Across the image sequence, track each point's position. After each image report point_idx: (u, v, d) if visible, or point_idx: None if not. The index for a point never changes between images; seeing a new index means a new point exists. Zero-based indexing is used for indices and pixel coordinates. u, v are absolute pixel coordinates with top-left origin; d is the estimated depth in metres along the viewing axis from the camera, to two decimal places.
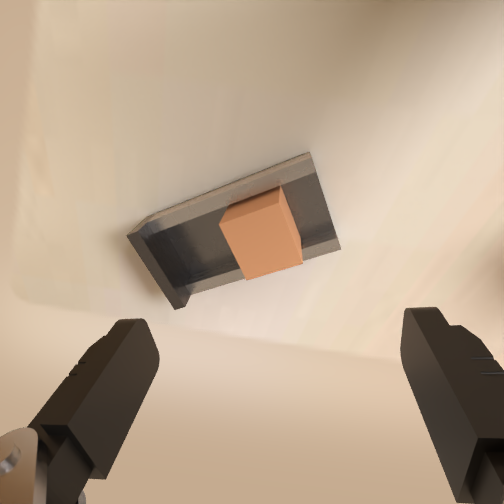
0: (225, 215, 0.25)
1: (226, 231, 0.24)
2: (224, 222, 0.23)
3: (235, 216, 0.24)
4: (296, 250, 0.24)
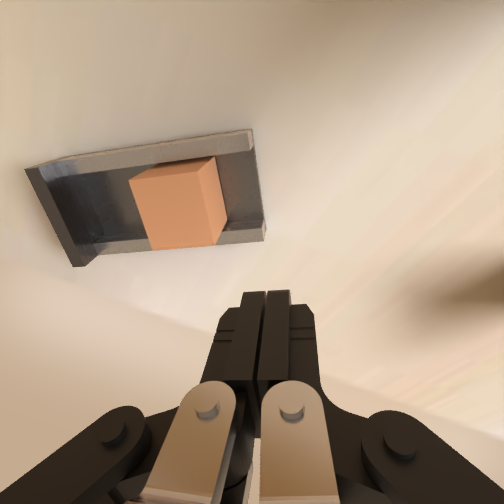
0: (142, 173, 0.22)
1: (136, 191, 0.21)
2: (135, 179, 0.21)
3: (149, 176, 0.21)
4: (209, 229, 0.22)
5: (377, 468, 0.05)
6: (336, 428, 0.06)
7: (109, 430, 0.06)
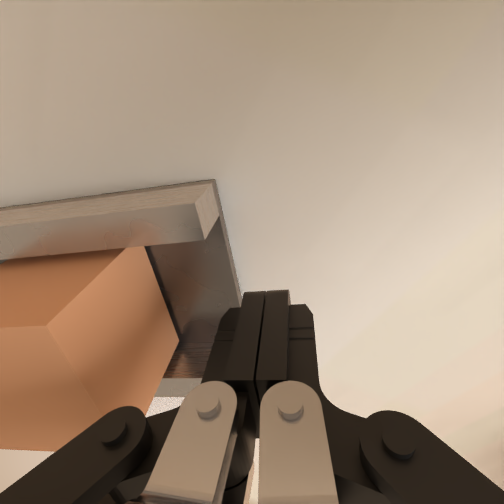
0: None
1: None
2: None
3: None
4: None
5: (375, 468, 0.05)
6: (335, 428, 0.06)
7: (110, 430, 0.06)
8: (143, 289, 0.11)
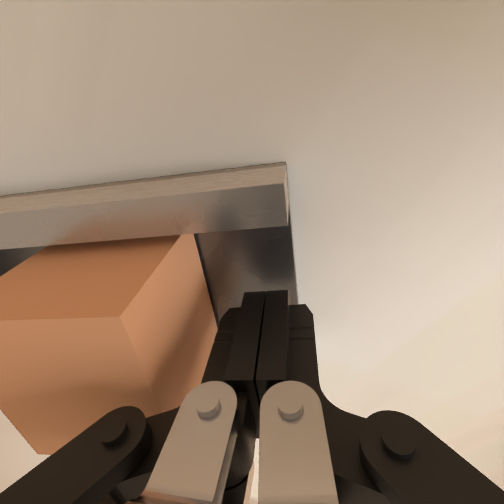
0: None
1: None
2: None
3: None
4: None
5: (375, 468, 0.05)
6: (335, 428, 0.06)
7: (110, 430, 0.06)
8: (193, 281, 0.11)
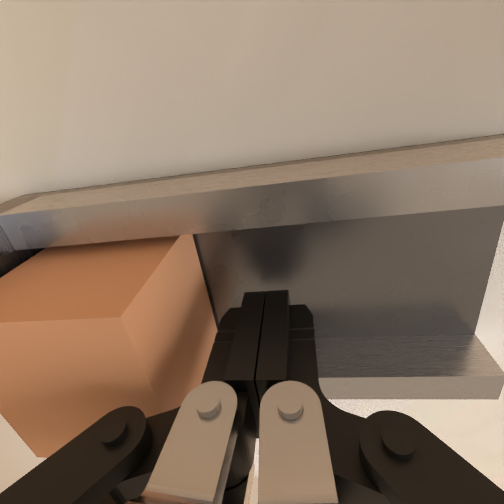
0: None
1: None
2: None
3: None
4: None
5: (375, 468, 0.05)
6: (334, 428, 0.06)
7: (110, 430, 0.06)
8: (193, 282, 0.11)
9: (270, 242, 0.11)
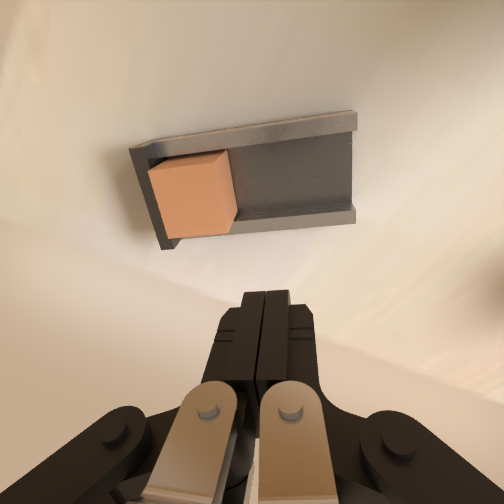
0: (159, 165, 0.23)
1: (154, 181, 0.22)
2: (154, 170, 0.22)
3: (167, 167, 0.22)
4: (223, 218, 0.23)
5: (376, 468, 0.05)
6: (335, 428, 0.06)
7: (110, 430, 0.06)
8: (228, 174, 0.25)
9: (260, 158, 0.26)
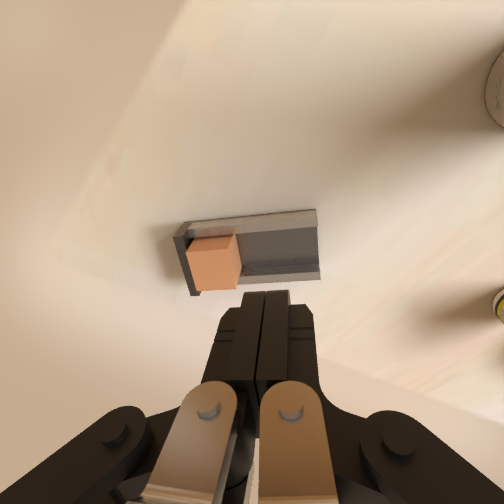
0: (191, 245, 0.36)
1: (189, 258, 0.35)
2: (189, 251, 0.35)
3: (197, 249, 0.35)
4: (233, 280, 0.36)
5: (375, 468, 0.05)
6: (335, 428, 0.06)
7: (110, 430, 0.06)
8: (235, 246, 0.38)
9: (257, 235, 0.39)
